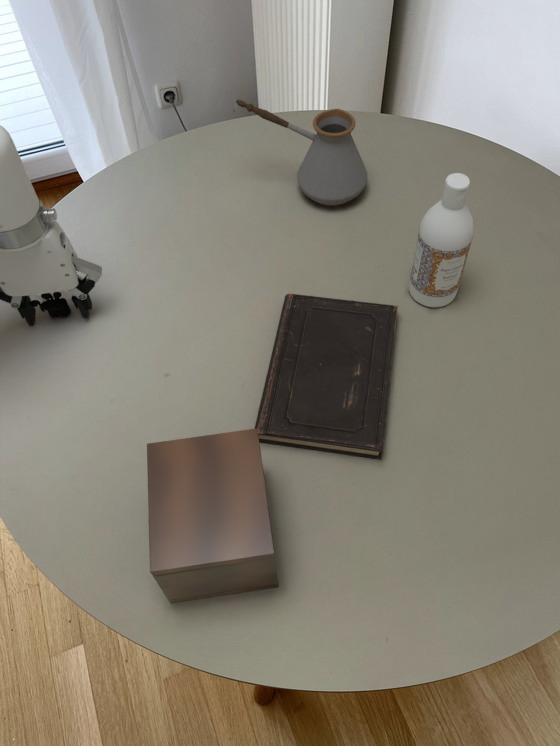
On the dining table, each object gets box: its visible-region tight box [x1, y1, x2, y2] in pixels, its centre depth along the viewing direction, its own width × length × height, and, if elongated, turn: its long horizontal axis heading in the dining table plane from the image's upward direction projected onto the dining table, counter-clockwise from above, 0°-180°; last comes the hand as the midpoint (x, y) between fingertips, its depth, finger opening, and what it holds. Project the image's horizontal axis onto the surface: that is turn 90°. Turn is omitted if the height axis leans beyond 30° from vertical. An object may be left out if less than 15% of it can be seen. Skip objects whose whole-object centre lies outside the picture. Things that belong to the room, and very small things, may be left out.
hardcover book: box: [253, 293, 399, 460], centre depth 86 cm, size 16×23×2 cm
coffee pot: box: [232, 99, 369, 207], centre depth 103 cm, size 21×12×15 cm, turn 77°
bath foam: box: [408, 172, 475, 308], centre depth 87 cm, size 7×7×20 cm
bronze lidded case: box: [146, 428, 279, 604], centre depth 71 cm, size 12×14×11 cm
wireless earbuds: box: [30, 291, 79, 319], centre depth 92 cm, size 7×2×5 cm, turn 96°
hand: (59, 314), depth 94 cm, fingers closed on wireless earbuds, 7 cm apart
